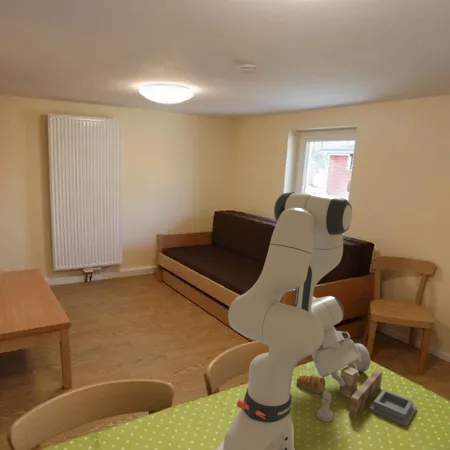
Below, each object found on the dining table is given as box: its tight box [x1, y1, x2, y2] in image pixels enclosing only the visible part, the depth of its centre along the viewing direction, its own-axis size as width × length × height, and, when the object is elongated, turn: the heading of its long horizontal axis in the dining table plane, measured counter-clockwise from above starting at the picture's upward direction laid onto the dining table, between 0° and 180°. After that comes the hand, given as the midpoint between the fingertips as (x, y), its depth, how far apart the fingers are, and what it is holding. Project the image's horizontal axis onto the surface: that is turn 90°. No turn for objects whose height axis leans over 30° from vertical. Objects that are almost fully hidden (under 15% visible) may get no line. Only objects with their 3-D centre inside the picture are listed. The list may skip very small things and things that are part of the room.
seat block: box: [368, 389, 418, 428], centre depth 116 cm, size 11×11×3 cm
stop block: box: [338, 365, 360, 399], centre depth 124 cm, size 4×4×8 cm
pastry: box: [296, 374, 326, 394], centre depth 128 cm, size 9×7×4 cm
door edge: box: [348, 369, 383, 419], centre depth 121 cm, size 22×2×6 cm, turn 139°
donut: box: [355, 342, 371, 373], centre depth 139 cm, size 10×4×10 cm, turn 16°
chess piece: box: [316, 391, 334, 423], centre depth 111 cm, size 5×5×8 cm
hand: (350, 381), depth 124 cm, fingers open, 6 cm apart
